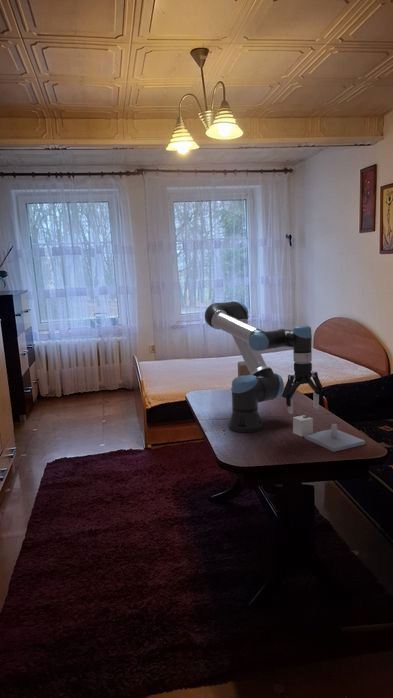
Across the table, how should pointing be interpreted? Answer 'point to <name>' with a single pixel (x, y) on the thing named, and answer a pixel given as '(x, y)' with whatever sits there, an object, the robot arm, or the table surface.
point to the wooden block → (242, 369)
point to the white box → (302, 425)
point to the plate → (334, 439)
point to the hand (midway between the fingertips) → (303, 410)
